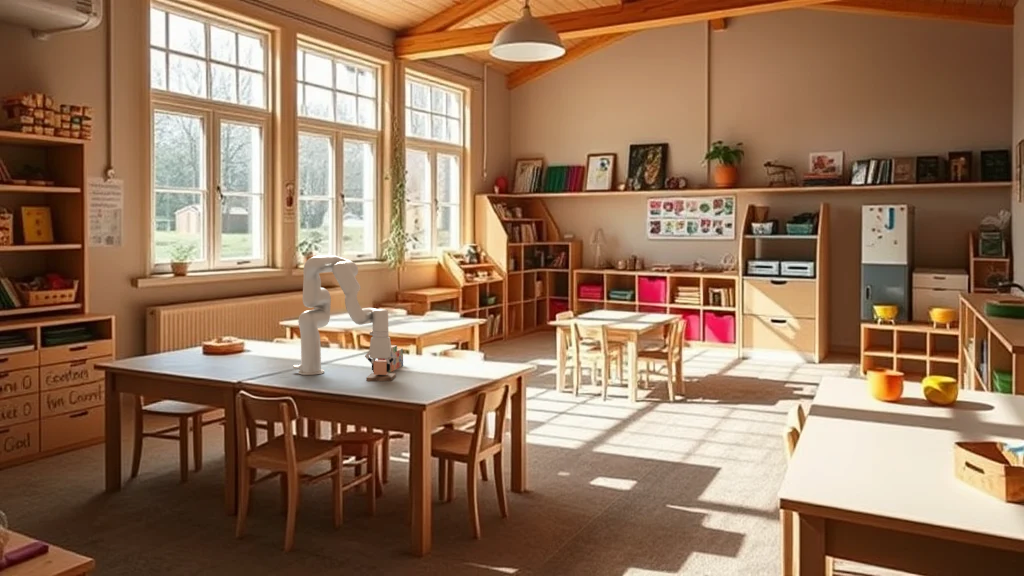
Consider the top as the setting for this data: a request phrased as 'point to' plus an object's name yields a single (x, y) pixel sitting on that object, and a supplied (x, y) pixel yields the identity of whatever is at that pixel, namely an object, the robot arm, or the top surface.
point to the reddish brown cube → (380, 367)
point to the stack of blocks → (398, 360)
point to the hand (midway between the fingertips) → (381, 371)
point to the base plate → (381, 377)
